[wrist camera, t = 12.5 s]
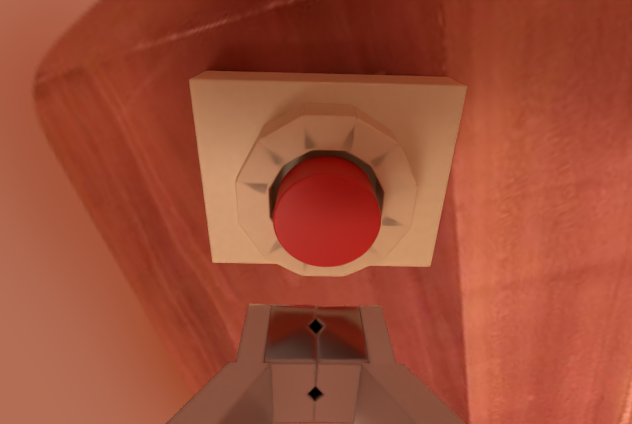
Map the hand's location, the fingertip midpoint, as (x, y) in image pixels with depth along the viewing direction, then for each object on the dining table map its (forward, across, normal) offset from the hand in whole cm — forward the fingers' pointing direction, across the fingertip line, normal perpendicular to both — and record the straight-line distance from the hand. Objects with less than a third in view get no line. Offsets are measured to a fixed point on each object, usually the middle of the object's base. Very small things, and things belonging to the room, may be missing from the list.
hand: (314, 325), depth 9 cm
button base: (+10, -1, 0) cm, 10 cm away
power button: (+6, -1, 0) cm, 6 cm away
